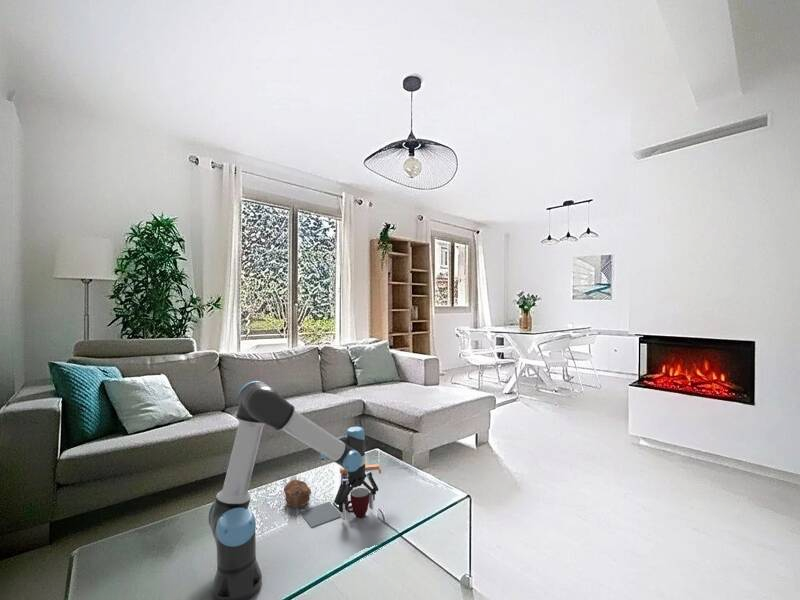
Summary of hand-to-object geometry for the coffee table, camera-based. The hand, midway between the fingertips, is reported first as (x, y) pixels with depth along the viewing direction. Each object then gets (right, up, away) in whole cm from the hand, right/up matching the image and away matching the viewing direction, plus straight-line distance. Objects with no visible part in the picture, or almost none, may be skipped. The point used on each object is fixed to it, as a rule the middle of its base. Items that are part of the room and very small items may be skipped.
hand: (357, 513), depth 166 cm
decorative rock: (-29, -2, +12) cm, 31 cm away
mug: (0, -2, 0) cm, 2 cm away
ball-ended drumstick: (0, +12, +11) cm, 16 cm away
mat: (-16, -2, +2) cm, 16 cm away
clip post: (-7, -2, +10) cm, 12 cm away
